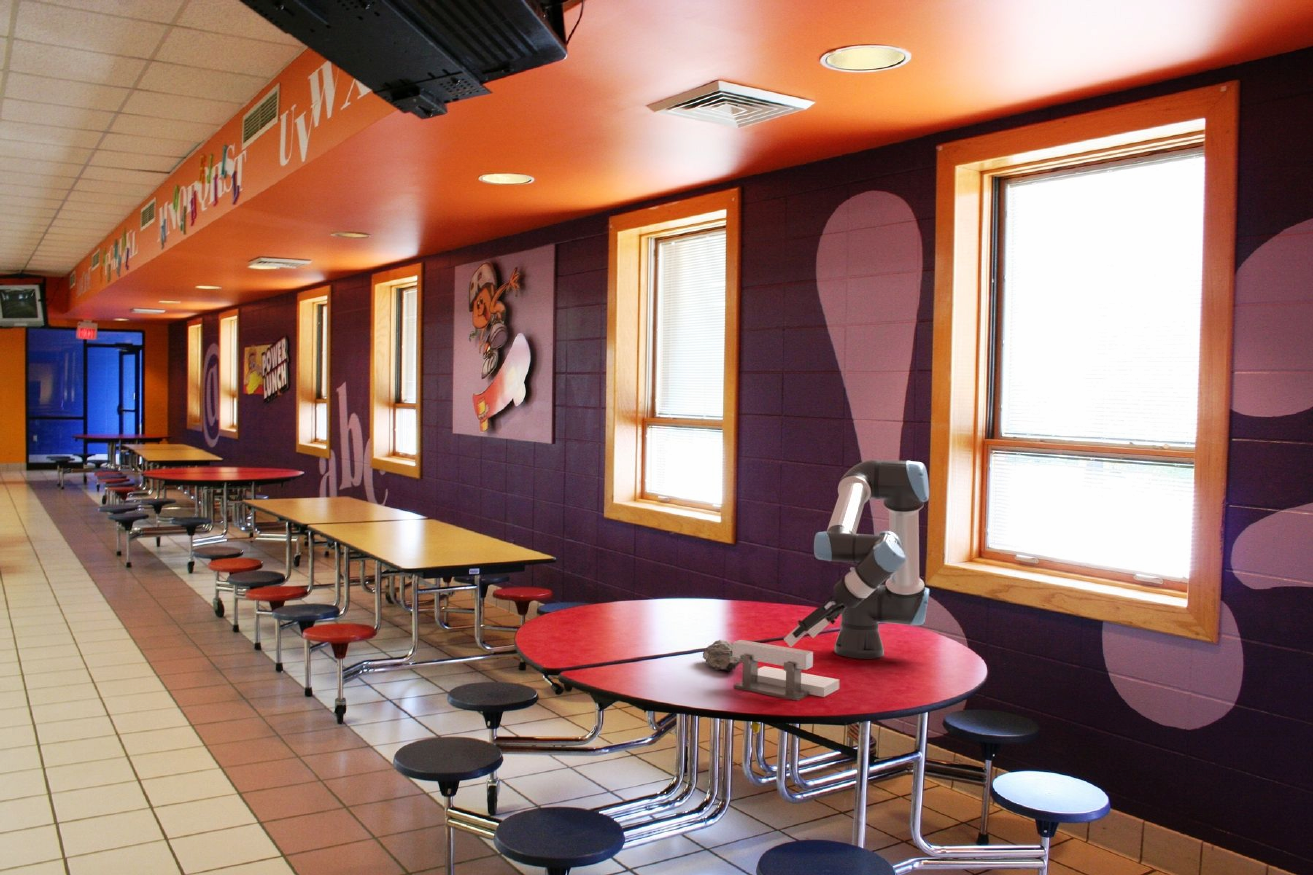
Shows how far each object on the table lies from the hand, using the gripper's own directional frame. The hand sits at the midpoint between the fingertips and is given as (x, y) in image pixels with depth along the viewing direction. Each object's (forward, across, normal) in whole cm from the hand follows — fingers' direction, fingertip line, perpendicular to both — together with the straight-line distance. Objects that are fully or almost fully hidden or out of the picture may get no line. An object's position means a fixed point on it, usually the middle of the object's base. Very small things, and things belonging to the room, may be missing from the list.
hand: (798, 638), depth 254 cm
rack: (+16, 0, +5) cm, 17 cm away
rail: (+11, 0, 0) cm, 11 cm away
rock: (+32, -14, -10) cm, 37 cm away
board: (+15, -9, +7) cm, 19 cm away
